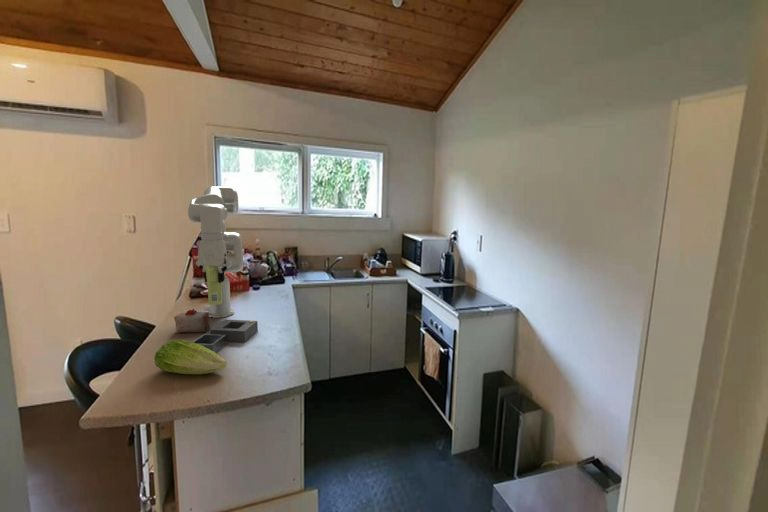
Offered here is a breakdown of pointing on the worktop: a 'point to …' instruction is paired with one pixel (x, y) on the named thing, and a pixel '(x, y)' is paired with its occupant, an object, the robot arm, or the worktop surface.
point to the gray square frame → (212, 341)
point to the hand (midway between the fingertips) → (214, 281)
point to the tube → (213, 285)
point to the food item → (192, 321)
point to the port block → (236, 330)
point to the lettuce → (188, 358)
